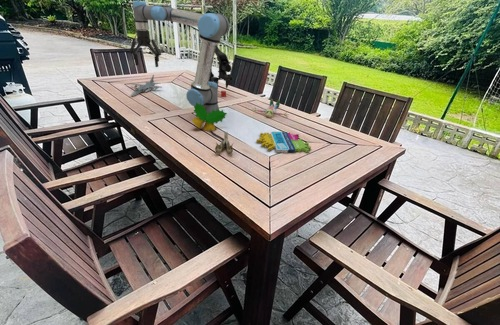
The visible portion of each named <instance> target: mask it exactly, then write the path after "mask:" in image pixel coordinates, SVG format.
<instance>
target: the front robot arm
mask: <svg viewBox="0 0 500 325" xmlns="http://www.w3.org/2000/svg"><path fill="white" fill-rule="evenodd" d="M132 10H133V17H134V24H135V29H136V31H135V32H136V37H132V42H131V46H130V49H129V54H132V59H133V60H134V63H135V66H139V58H138V57H139V56H138V54H137V53H138V51H140V48H141V47H146V48H148V49H149V50H150V51H151V53H152V54H153V55H154V57H153V58H154V65H155V66H154V67H155V68H159V62H160V58H159V57H160V56H162V53H161V51H160V49H159V47H158V44H157V43H156V39H154V38H153V39H151V36H150V35H151V34H150V31H149V30H150V28H149V21H156V22H162V21H164V22H165V21H166V22H172V23H177V24H182V25H186V26H190V27H195V28H197V31H198V33H199V35H198V36H199V39H200V41H201V42H200V48H199V53H198V59H197V63H196V64H197V65H196V70H195V75H194V80H193V81H192V82H191V85H190V88H189V89H188V90H187V91H186V95H185V96H186V100H187V102H188V103H189V104H190V105H191V106H192V107H194V106H196V102H197V103H198V104H201V106H204V109H206V112H208V113H211V112H212V110H214V111H216V110H217V109H219V111H221V110H220V108H219V102H218V99H219V98H218V97H219V84H218V85H217V83H215V82H209V78H210V73H211V68H212V67H213V64H214V63H213V62H214V57H215V55H216V54H215V49H216V45H217V46H218V45H219V44H220V42H221V38H222V37H223V36H225V35H227V34H228V32H229V30H230V22H229V19H228V18H227V17H226V15H224V14H222V13H212V12H207V13H199V12H195V11H190V10H185V9H179V8H174V7H171V6H160V5H147V2H146V1H144V0H133V1H132ZM136 44H137V45H136ZM212 69H213V68H212ZM208 113H207V115H208ZM209 132H210V133H211V134H212V135H214V136H216V137H217V138H219V139H221V141H222V140H223V141H224V137H222V136H220V135H218V134H216V133H214V131H211V130H210V131H209Z"/></svg>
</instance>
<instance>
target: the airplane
mask: <svg viewBox="0 0 500 325" xmlns="http://www.w3.org/2000/svg"><path fill="white" fill-rule="evenodd" d="M154 78H155V74H152V76H151V78H150V80H149V81H144V83H145V84H139V83H133V82H132V83H130V85H134V86H133V87H132V88H133V89H135V88H136V89H135V90H134V91H132V92H131V94H130V95H129V96H128V97H135V96H137V95H139V94H141V93H148V92H150V91H151V90H153V91H156V90H158V88H161V86H159V85H160V84H161V83H160V82H155V81H154Z"/></svg>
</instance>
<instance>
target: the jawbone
mask: <svg viewBox="0 0 500 325" xmlns="http://www.w3.org/2000/svg"><path fill="white" fill-rule="evenodd" d="M223 135H224V136H223V139H224V140H222V139H221V142H220V144H218V142H215V144H216V146H215V148H214V149H215V152H214V154H215V155H217V156H218V155H220V153H221V152H223V151H224V150H226V152H227V153H228V155H229V156H233V155H234V154H233V153H234V148H233V144H234V143H230V140H228V139H229V138H228V137H229V136H228V135H229V133H228V131H226V132H224V134H223Z"/></svg>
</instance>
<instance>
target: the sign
mask: <svg viewBox="0 0 500 325" xmlns="http://www.w3.org/2000/svg"><path fill="white" fill-rule="evenodd" d="M299 136H300V135H299V134H298V133H296V134H294V133H291V132H287V131H270V132H264V133H263V132H260V133H259V139H258V138H257V139H256V143H257V144H261V148H263V147H264V148H265V149H267V151H268V152H271V151H272V150H273V149H275V152H276V153H283V154H285V153H287V154H288V153H290V154H293V153H296V152H298V153H301V152H305V153H310V151H311V150H312V149H311V148H312V146H309V142H304V141H303V139H302V138H299Z"/></svg>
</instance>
